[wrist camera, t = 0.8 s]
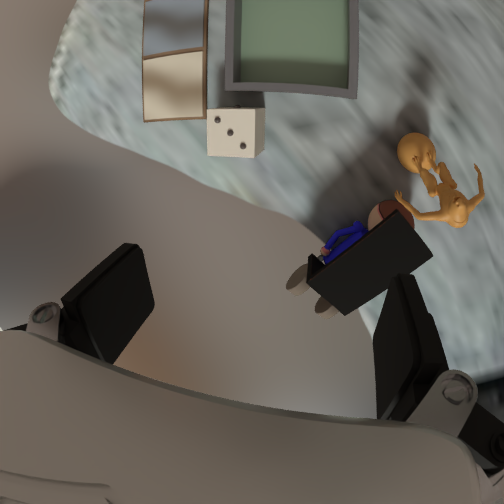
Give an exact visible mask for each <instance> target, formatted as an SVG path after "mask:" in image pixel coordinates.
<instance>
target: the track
mask: <svg viewBox="0 0 504 504" xmlns="http://www.w3.org/2000/svg"><path fill="white" fill-rule="evenodd" d="M208 8H209V0H145V1H144V16H143V39H142V95H143V120H144V122H155V121H170V120H190V119H207V44H208Z"/></svg>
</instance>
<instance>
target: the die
mask: <svg viewBox="0 0 504 504" xmlns="http://www.w3.org/2000/svg"><path fill="white" fill-rule="evenodd" d="M264 139H265V108H254V107H240V106H239V105H236V106H235V107H221V108H213V109H207V148H208V156H227V157H246V158H255V157H256V156H257V155H259V154H260V153H261V152H262V151H263V150H264Z"/></svg>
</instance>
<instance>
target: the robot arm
mask: <svg viewBox="0 0 504 504" xmlns="http://www.w3.org/2000/svg"><path fill="white" fill-rule="evenodd" d="M61 301H62V303H63V306H64V307H63V308H62V309H61V308H60V306H59V304H57V303H55V302H47V303H44V304H41V305H39V306H38V307H36V308H35V309H34V310H33V311H32V312H31V314H30V316H29V320H28V323H27V324H24V325H20V326H17V327H14V328H11V329H7V330H4V331H0V504H504V423H502V422H501V421H500V420H499V419H497V418H496V417H495V416H493V415H492V414H491V413H490V412H488V411H487V410H486V409H484V408H483V407H482V406H480V405H479V404H478V403H476V400H477V396H478V390H477V387H476V384H475V382H474V381H473V379H472V378H471V377H470V376H469V375H468V374H466V373H464V372H462V371H460V370H449V367H448V364H447V360H446V357H445V353H444V350H443V347H442V343H441V340H440V337H439V334H438V331H437V328H436V325H435V322H434V319H433V317H432V315H431V314H430V313H428V311H427V308H426V306H425V303H424V300H423V297H422V295H421V292H420V289H419V287H418V284H417V282H416V279H415V277H414V275H412V274H403V273H398V274H397V276H396V277H392V278H391V280H390V284H389V287H388V291H387V294H386V298H385V301H384V304H383V308H382V311H381V314H380V317H379V320H378V323H377V326H376V329H375V332H374V335H373V352H374V365H375V381H376V402H377V419H370V418H355V417H343V416H332V415H323V414H314V413H306V412H298V411H291V410H284V409H277V408H271V407H265V406H260V405H254V404H249V403H244V402H239V401H234V400H229V399H226V398H221V397H217V396H212V395H208V394H204V393H200V392H196V391H193V390H189V389H185V388H182V387H178V386H175V385H172V384H168V383H165V382H161V381H158V380H155V379H152V378H149V377H146V376H143V375H140V374H137V373H134V372H131V371H128V370H126V369H123V368H120V367H117V366H115V365H113V364H114V362H115V361H116V359H117V358H118V357H119V355H120V354H121V352H122V351H123V350H124V348H125V347H126V346H127V344H128V343H129V342H130V340H131V339H132V337H133V336H134V335H135V333H136V332H137V331H138V329H139V328H140V326H141V325H142V324H143V323H144V321H145V320H146V318H147V317H148V316H149V315H150V313H151V312H152V311H153V309H154V305H155V304H154V298H153V294H152V290H151V286H150V282H149V277H148V273H147V268H146V264H145V259H144V254H143V251H142V249H141V248H140V247H139V245H137V244H130V243H124V244H122V245H121V246H120V247H119V248H117V249H116V250H115V251H114V252H113V253H112V254H110V255H109V256H108V257H107V258H106V259H104V260H103V261H102V262H101V263H100V264H99V265H97V266H96V267H95V268H94V269H93V270H92V271H90V272H89V273H88V274H87V275H86V276H85V277H84V278H83V279H81V281H79V282H78V283H77V284H76V285H75V286H74V287H73V288H72V289H70V291H68V292H67V293H66V294H65V295H64V296H63V297H62V298H61Z"/></svg>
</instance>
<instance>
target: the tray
mask: <svg viewBox="0 0 504 504" xmlns="http://www.w3.org/2000/svg"><path fill="white" fill-rule="evenodd" d="M358 63H359V9H358V0H226V34H225V91H264V92H288V93H303V94H315V95H325V96H334V97H342V98H349V99H357V88H358Z"/></svg>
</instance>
